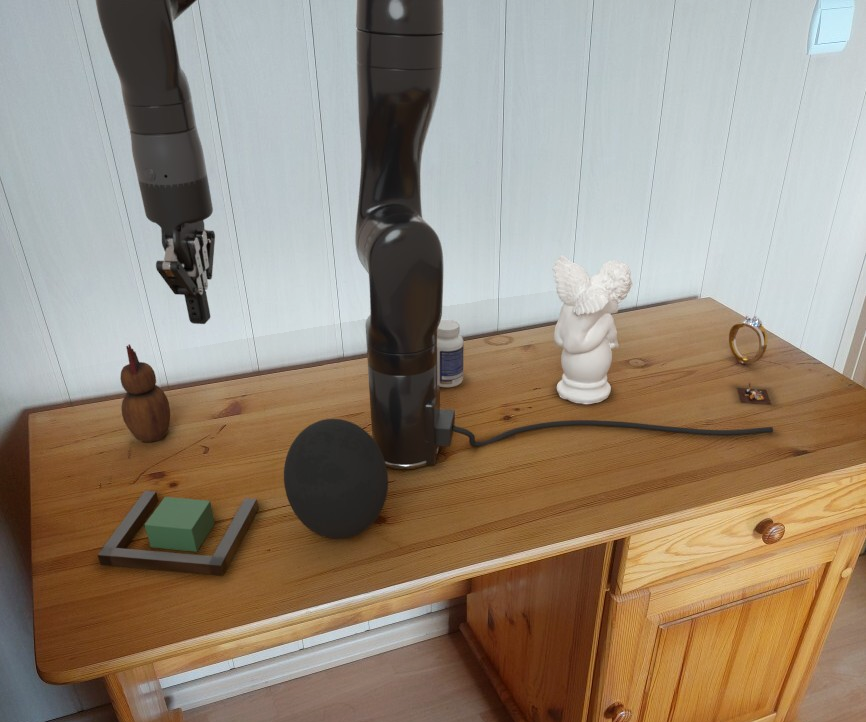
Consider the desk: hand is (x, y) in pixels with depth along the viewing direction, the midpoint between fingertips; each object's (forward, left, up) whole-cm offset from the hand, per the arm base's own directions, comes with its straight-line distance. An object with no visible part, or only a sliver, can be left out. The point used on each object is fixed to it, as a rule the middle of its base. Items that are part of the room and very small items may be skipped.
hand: (200, 321), depth 102 cm
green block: (0, +17, -21) cm, 27 cm away
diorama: (-76, -30, -21) cm, 85 cm away
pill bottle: (-27, -29, -21) cm, 45 cm away
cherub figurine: (-49, -26, -21) cm, 60 cm away
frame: (0, +16, -21) cm, 26 cm away
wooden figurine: (+14, -6, -21) cm, 26 cm away
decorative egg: (-19, +13, -21) cm, 31 cm away
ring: (-76, -42, -21) cm, 90 cm away
